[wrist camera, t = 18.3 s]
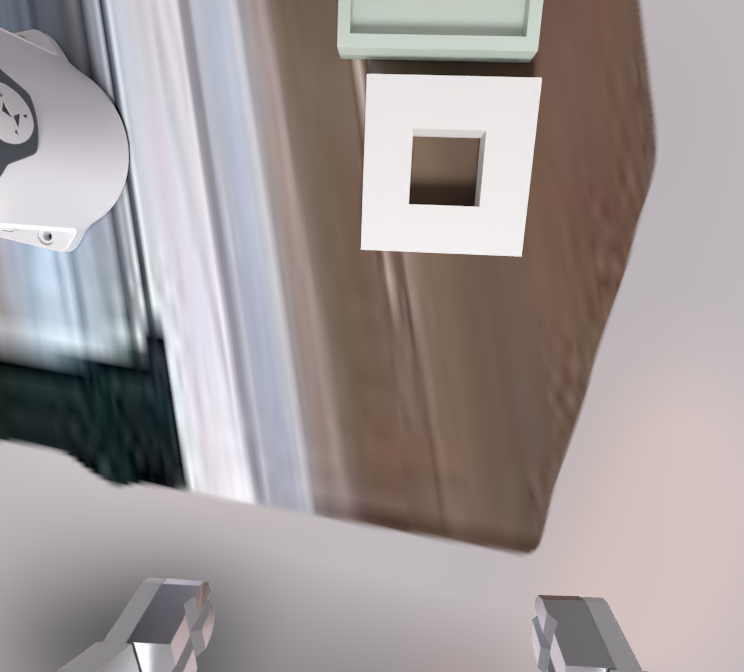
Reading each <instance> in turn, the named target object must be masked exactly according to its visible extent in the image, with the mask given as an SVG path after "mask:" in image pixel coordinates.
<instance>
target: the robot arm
mask: <svg viewBox="0 0 744 672" xmlns="http://www.w3.org/2000/svg"><path fill="white" fill-rule="evenodd" d="M128 165H129V150H128V142H127V137H126V133H125V129H124V126H123V123H122V121H121V118H120V116H119V114H118V112H117V110H116V108H115V107H114V105H113V103H112V102H111V100H110V99H109V98H108V96H107V95H106V94H105V93H104V91H103V90H102V89H101V88H100V87H99V86H98V85H97V84H96V83H95V82H93V81H92V80H91V79H90V78H89V77H87V76H86V75H84V74H83V73H82V72H80V71H79V70H77V69H76V68H75V67H74V66H73V65H72V64H71V63H70V62H69V61H68V59H67V58H66V56H65V55H64V53H63V51H62V50H61V48H60V47H59V46H58V44H57V43H56V42H55V41H54V39H53V38H51V37H50V36H49V35H47V34H45V33H43V32H41V31H38V30H35V29H31V30H26V31H21V32H17V33H11V32H9V31H7V30H5V29H3V28H0V237H2V238H6V239H10V240H14V241H18V242H22V243H26V244H30V245H34V246H38V247H42V248H47V249H51V250H55V251H61V252H71V251H73V250H74V249H75V248H76V247H77V246H78V244H79V243H80V241H81V239H82V237H83V235H84V233H85V231H86V229H87V228H88V227H89V226H90V225H91V224H93V223H94V222H95V221H97V220H98V219H99V218H101V217H102V216H103V215H105V214H106V213H107V212H108V211H109V210H110V209H111V208H112V206H113V205H114V204H115V203H116V201H117V200H118V198H119V196H120V194H121V192H122V190H123V187H124V185H125V182H126V178H127V173H128ZM50 233H51V235H52V239H50V237H49V234H50ZM210 592H211V591H210V587H209V582H206V581H194V580H181V579H165V578H148V579H146V580H145V581H144V582H143V583H142V584H141V585H140V587H139V588H138V590H137V591H136V593H135V594H134V596H133V597H132V599H131V600H130V602H129V603H128V605H127V606H126V608H125V609H124V611H123V613H122V614H121V616H120V617H119V619H118V620H117V622H116V623H115V625H114V626H113V628H112V629H111V631H110V632H109V634H108V635H107V637H106V638H105V640H104V641H103V642H96V643H95V644H94V645H92V646H91V647H89V648H88V649H87V650H85V651H84V652H83V653H81V654H80V655H79V656H77V657H76V658H75V659H73V660H72V661H71V662H69V663H68V664H66V665H65V666H64V667H62V668H61V669H60V670H58V671H57V672H196V670H197V665H196V660H195V658H196V657H197V656H198V655H199V654H200V653H201V652H202V651H203V650H205V649H206V647H207V644H208V642H209V639H210V636H211V633H212V628H213V624H214V607H213V604H212V603H211V602H210V601H209V600H208V599H207V598H208V596H209V594H210ZM535 610H536V613H537V616H536V617H535V618H534V619H533V620H532V628H531V636H532V646H533V651H534V656H535V659H536V663H537V666H538V667H539V669H540V670H541V671H542V672H646V671H642V669H641V667H640V665H639V663H638V661H637V659H636V657H635V655H634V653H633V652H632V649H631V648H630V646H629V644H628V642H627V640H626V638H625V636H624V634H623V632H622V630H621V628H620V626H619V624H618V622H617V620H616V619H615V617H614V615H613V613H612V611H611V609H610V607H609V605H608V603H607V602H606V601H605V600H604V599H603V598H592V597H579V596H548V595H538V596H537V598H536V600H535Z"/></svg>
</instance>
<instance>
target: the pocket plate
mask: <svg viewBox="0 0 744 672" xmlns="http://www.w3.org/2000/svg"><path fill="white" fill-rule="evenodd" d="M541 83H542V78H535V77H491V76H447V75H403V74H367V84H366V113H365V143H364V172H363V202H362V231H361V250H381V251H405V252H428V253H452V254H476V255H500V256H522V248H523V239H524V231H525V222H526V213H527V205H528V196H529V187H530V179H531V170H532V161H533V153H534V144H535V135H536V127H537V118H538V109H539V101H540V92H541ZM413 136H425V137H459V138H480V148H479V159H478V171H477V182H476V193H475V204H474V206H447V205H420V204H409V193H410V176H411V158H412V141H413Z"/></svg>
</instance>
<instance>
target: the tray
mask: <svg viewBox="0 0 744 672" xmlns="http://www.w3.org/2000/svg"><path fill="white" fill-rule="evenodd" d="M542 8H543V0H338V38H337V48H338V51H339V54H340V58H341V59H370V60H417V61H465V62H512V63H529V62H530V61H531V60H532V58H533V57H534V55H535V54H536V53H537V51H538V44H539V35H540V26H541V17H542Z"/></svg>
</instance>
